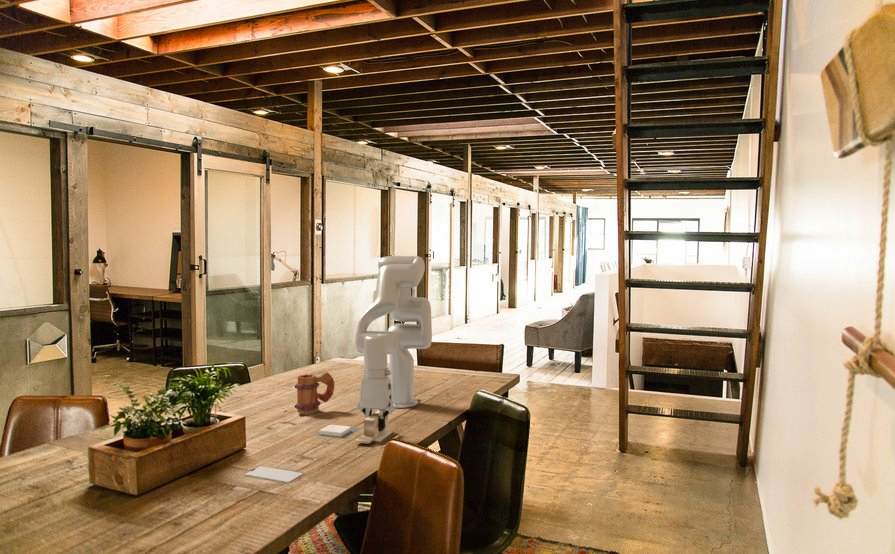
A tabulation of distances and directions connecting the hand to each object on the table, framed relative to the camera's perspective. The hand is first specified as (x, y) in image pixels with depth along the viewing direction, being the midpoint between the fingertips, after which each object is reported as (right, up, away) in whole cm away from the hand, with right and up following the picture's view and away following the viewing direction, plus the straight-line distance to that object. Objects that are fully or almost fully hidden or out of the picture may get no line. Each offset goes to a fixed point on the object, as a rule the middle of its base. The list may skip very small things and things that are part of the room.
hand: (376, 429), depth 198 cm
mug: (-26, -2, +29) cm, 40 cm away
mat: (-13, -3, +5) cm, 14 cm away
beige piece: (-1, -2, -2) cm, 3 cm away
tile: (-13, -1, +6) cm, 14 cm away
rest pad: (0, -3, 0) cm, 3 cm away
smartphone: (-24, -5, -32) cm, 40 cm away
